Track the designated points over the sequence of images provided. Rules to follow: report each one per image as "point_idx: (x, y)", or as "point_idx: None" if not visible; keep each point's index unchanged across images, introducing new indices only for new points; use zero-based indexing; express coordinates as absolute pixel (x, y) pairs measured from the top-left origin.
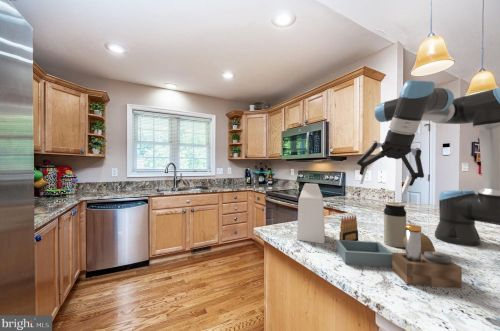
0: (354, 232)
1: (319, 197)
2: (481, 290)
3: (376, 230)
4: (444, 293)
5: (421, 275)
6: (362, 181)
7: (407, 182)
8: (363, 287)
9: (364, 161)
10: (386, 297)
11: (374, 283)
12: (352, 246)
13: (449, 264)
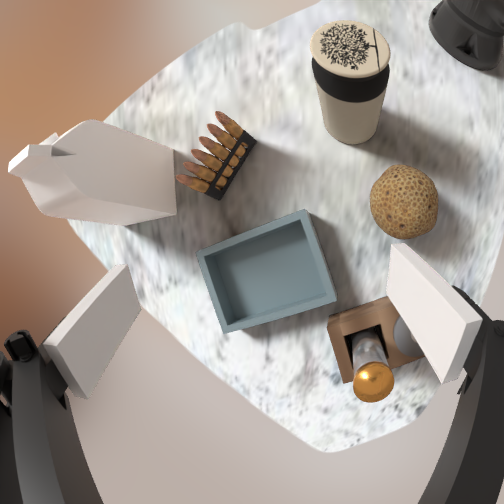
0: (237, 147)
1: (70, 187)
2: None
3: (300, 29)
4: (396, 368)
5: None
6: (130, 321)
7: (424, 350)
8: (269, 402)
9: (13, 374)
10: (300, 417)
11: (287, 384)
12: (239, 244)
13: None
